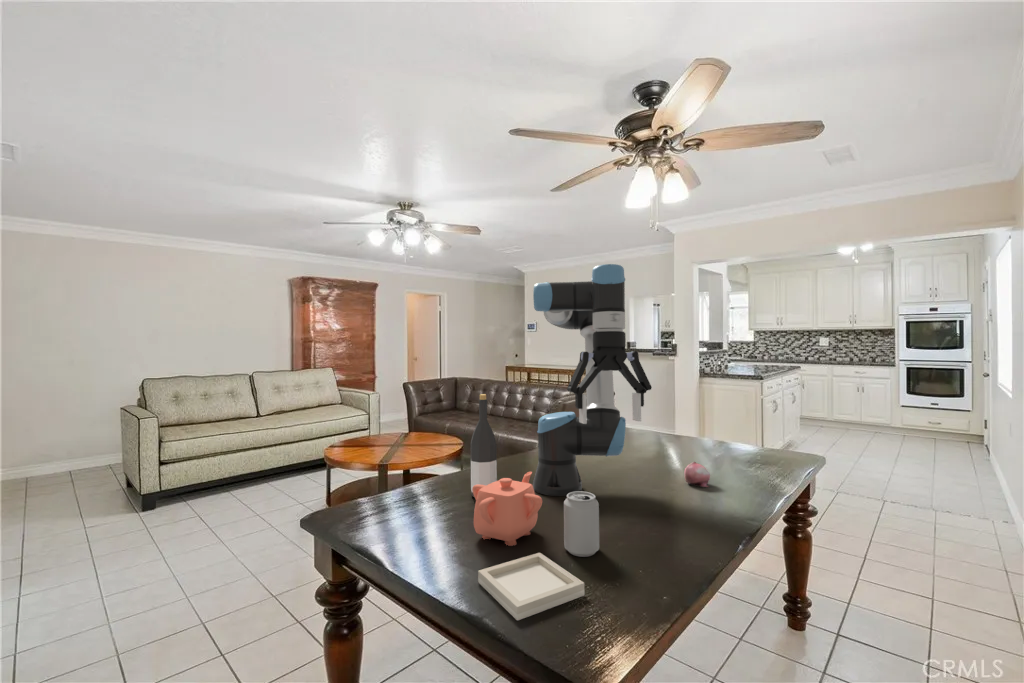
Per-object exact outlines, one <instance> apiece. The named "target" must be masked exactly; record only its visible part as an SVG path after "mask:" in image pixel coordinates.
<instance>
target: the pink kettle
mask: <svg viewBox="0 0 1024 683" xmlns="http://www.w3.org/2000/svg"><path fill="white" fill-rule="evenodd" d="M532 474H533V471H528V472H526V473H525V474H524V475H523V478H522V480H521V481H519V480H513V479H512V478H510V477H502V478H500V479H499V480H498V479H497V481H495V482H493V483H490V484H488V485H480V484H477V485H474V486H473V488H472V491H473V494H474V497H475V498H474V499H475V504H474V510H473V512H474V513H473V527H474V530H475V533H476V534H478V535H481V539H482V538H483V539H482V540H485V539H489V540H491V538H492V539H495V540H501V541H503V542H504V544H506V545H505V546H507V545H508V547H513V545H514V546H516V545H517V540H518V539H520V538H521V537H523V536H525V537H526V536H530V535H531V533H532V532H531V531H532V529H533V528H535V526H536V525H537V521H538V518H539V517H538V516H539V514H538V513H539V511H540V509H541V508H542V505H543V498H542V497H541V496H540V495H537V494H536V492H535V491H534V489H533V483H530V478H531V477H532Z"/></svg>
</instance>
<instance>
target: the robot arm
mask: <svg viewBox="0 0 1024 683" xmlns="http://www.w3.org/2000/svg"><path fill="white" fill-rule="evenodd" d="M591 273H592V274H591V281H571V282H570V281H569V282H568V281H566V282H564V281H563V282H560V281H559V282H558V281H557V282H553V281H552V282H549V281H546V282H537V283H535V284H534V286H533V290H532V292H533V299H532V300H533V308H534V311H536V312H542V313H543V315H544V318H545V319H546V321H547V322H548V323H549V324H551V325H552V326H555V327H557V328H561V329H565V330H579V332H580V333H579V334H580V336H581V337H582V338H584V348H585V349H584V351H581V352H580V353H579V361H578V364H577V365H576V367H575V370H574V371H573V374H572V377H571V379H570V381H569V383H568V386H567V387H566V389H567V391H568V392H569V393H573V394H574V396H575V397H574V398H575V400H574V402H575V404H574V405H575V408H576V409H578V416H577V415H576V413H575V412H574V411H559V412H553V413H548V414H545V415H543V416H540V418H539V419H538V423H537V425H538V427H537V431H536V432H537V435H538V436H537V442H538V444H537V446H538V447H537V449H538V451H537V453H538V456H537V460H538V463H537V466H536V470H535V474H534V477H533V480H532V485H533V489H534V492H535V493H538V494H540V495H544V496H551V497H567V494H568V493H570V492H575V491H583V482H582V479H581V476H580V472H579V468H578V467H577V456H589V457H590V456H594V457H595V456H599V457H601V456H603V457H611V456H612V457H614V456H620V455H621V454H622V453H623V451H624V446H625V445H624V444H625V440H626V426H627V425H626V421H627V420H626V418H625V417H624V416H621V411H620V409H618V408H617V407H616V406H615V392H614V375H613V373H614V372H615V371H618V372H619V373H620V374H621V375H622V376H623V378H624V379H625V380H626V381H627V382H628V384H629V385H630V387H632V388H633V390H634V391H635V392H632V393H631V395H632V396H631V397H632V398H631V399H632V402H631V403H632V404H631V406H632V421H635V422H642V407H643V408H644V406H645V394H646V393H647V391H651V390H652V385H651V382H650V381H649V379H648V377H647V374H646V372H645V370H644V368H643V366H642V364H641V362H640V357H639V352H638V351H636V350H635V351H629V352H627V351H626V345H627V344H626V342H627V341H626V332H625V331H623V330H625V329H626V310H625V309H626V308H625V304H626V303H625V302H626V301H625V298H626V296H625V295H626V294H625V292H626V291H625V285H626V284H625V283H626V282H625V281H626V278H625V268H624V266H623V265H621V264H617V263H615V264H613V263H606V264H599V265H596V266H594V267H592V271H591ZM626 360H628V362H629V364H630V366H631V367H632V370H633V371H634V374H635V375H634V374H633V373H632V372H631V370H630V369H629V366H628V365H627V364H626V363H625V361H626ZM613 371H614V372H613ZM584 372H585V376H584V377H583V375H584ZM635 376H636V377H635ZM582 377H583V378H582ZM585 392H586V394H583V393H585Z"/></svg>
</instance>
